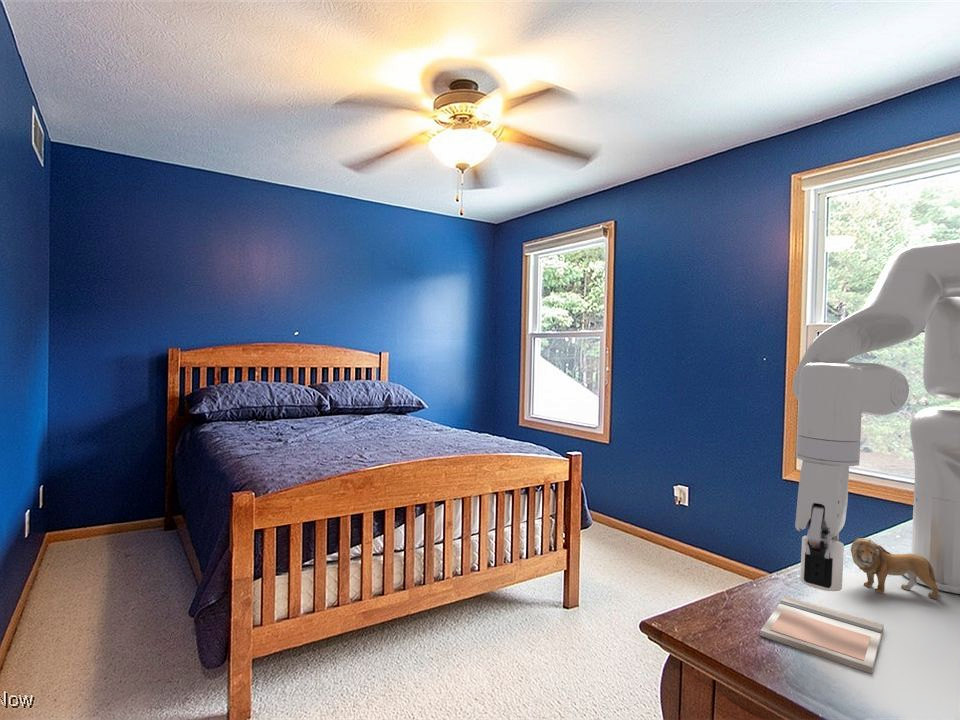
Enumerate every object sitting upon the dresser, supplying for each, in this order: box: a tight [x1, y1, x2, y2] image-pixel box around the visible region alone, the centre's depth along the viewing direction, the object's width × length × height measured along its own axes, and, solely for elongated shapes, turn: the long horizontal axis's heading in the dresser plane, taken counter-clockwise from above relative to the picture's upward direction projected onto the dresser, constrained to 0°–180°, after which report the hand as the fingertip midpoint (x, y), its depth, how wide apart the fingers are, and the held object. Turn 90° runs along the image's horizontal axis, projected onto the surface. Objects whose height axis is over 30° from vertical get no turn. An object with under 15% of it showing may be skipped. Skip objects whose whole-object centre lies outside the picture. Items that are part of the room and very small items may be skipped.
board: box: [759, 595, 885, 674], centre depth 79 cm, size 15×13×1 cm
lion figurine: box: [850, 537, 941, 600], centre depth 93 cm, size 15×5×9 cm, turn 87°
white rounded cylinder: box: [799, 535, 845, 592], centre depth 76 cm, size 5×5×6 cm
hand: (821, 577), depth 76 cm, fingers closed on white rounded cylinder, 4 cm apart
